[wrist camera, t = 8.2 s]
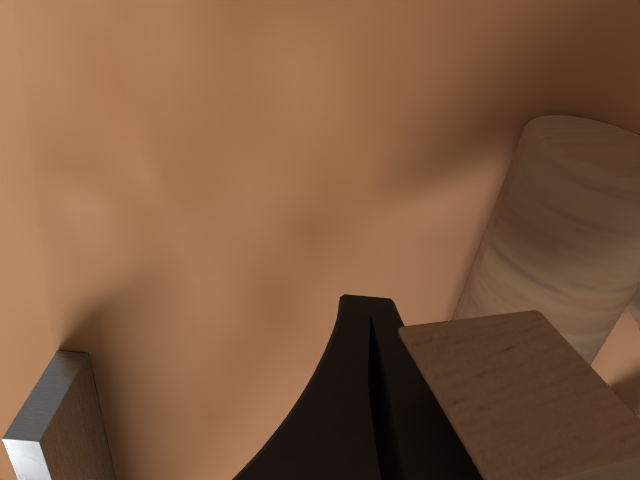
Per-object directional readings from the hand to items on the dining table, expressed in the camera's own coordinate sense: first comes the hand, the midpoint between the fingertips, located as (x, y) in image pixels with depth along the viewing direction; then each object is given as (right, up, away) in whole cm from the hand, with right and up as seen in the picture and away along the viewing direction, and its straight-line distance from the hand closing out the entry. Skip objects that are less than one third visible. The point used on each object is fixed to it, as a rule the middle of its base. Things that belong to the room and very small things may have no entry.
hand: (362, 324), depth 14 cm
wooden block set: (+9, +4, -2) cm, 10 cm away
